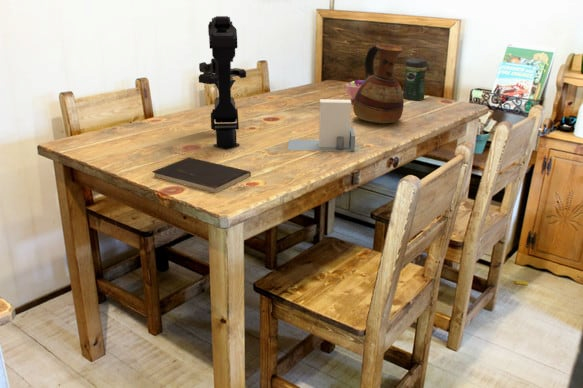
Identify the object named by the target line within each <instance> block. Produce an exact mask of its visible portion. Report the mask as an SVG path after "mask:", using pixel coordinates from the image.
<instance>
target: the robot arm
mask: <svg viewBox="0 0 583 388" xmlns="http://www.w3.org/2000/svg"><path fill="white" fill-rule="evenodd" d="M208 22H209V23H208V24H207V26H208V27H207V30H208V31H207V33H208V39H209V40H208V41H209V49H211V55H212V58H211V60H210V63H207V62H200V63H199V64H198V69H199V72H200V73H201V74H199V75H198V83H201V84H205V85H215V87H216V89H217V90H218V91H217V92H218V97H215V99H214V103H213V105H214V108H212V111H211V112H210V129H211V130H213V131H215V135H216V136H215V137H216V138H215V139H216V143H215V144H213V145H212V146H213V147H216V148H220V149H224V150H230V149H232V148H235V147H239V146H240V143H237V130H239V112H238V108H236V100H235V98H234V97H233V96H232V87H233V85H234V83H236V79H234V78H233V77H239V79H243V78H247V71H246V69H244V68H238V67H234V68H232V62H233V63H234V58H235V57H236V49H238V32H237V30H238V29H237V28H236V27H235V26H234V25H233V21H231V17H230V16H228V15H226V16H225V15H222V16H221V15H218V16H217V15H216V16H214V17H211V21H208Z"/></svg>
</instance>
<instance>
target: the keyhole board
mask: <svg viewBox="0 0 583 388" xmlns="http://www.w3.org/2000/svg"><path fill="white" fill-rule="evenodd" d="M355 147H356V134H355V130H354V127H353V126H351V125H350V140H349V147H344V137H342V136H338V137H337V140H336V147H319V139H290V138H289V140H288V147H287V150H288V151H318V152H319V151H321V152H324V151H326V152H327V151H329V152H331V151H333V152H335V151H336V152H356V148H355Z"/></svg>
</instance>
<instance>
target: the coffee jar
mask: <svg viewBox="0 0 583 388" xmlns="http://www.w3.org/2000/svg"><path fill="white" fill-rule="evenodd" d="M404 69H405V79H404V85H403V86H404V87H403V90H402V93H403V99H407V100H410V101H411V100H412V101H421V100H424V98H425V80H426V79H425V77H426V76H425V75H426V71H427V69H428V61H427V60H426V59H422V58H417V57H416V58H414V57H411V58H407V59H406V62H405V66H404Z"/></svg>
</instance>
